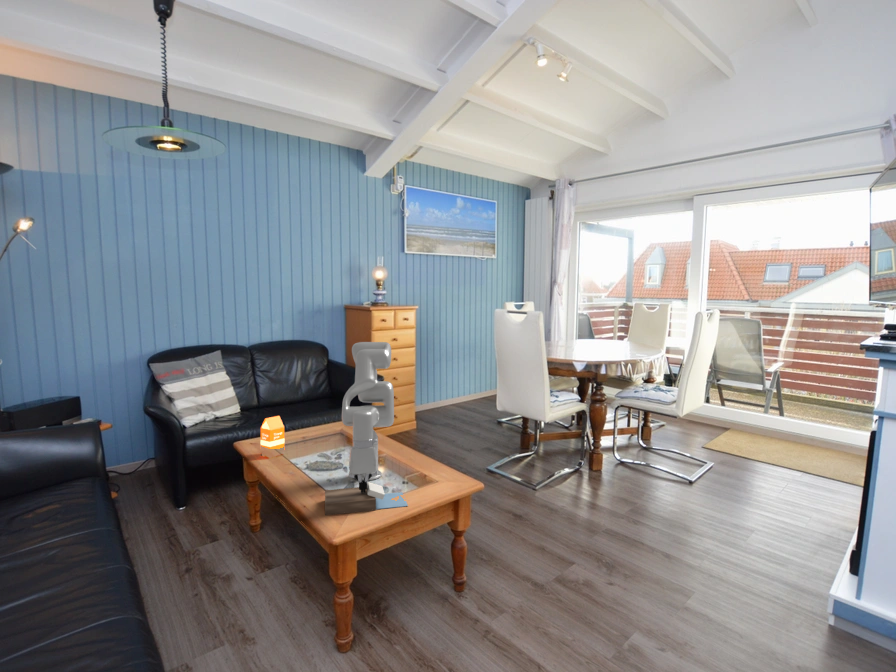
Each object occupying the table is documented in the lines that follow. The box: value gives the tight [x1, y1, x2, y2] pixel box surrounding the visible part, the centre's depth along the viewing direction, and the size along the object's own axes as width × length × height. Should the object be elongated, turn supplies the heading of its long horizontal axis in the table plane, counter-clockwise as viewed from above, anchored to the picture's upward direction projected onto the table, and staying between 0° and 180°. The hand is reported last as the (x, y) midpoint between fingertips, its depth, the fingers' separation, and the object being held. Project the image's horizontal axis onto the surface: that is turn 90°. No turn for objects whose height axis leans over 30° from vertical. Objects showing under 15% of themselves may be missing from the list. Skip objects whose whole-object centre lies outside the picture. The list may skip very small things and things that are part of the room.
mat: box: [375, 491, 409, 511], centre depth 176 cm, size 14×12×1 cm
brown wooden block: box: [324, 486, 376, 516], centre depth 171 cm, size 14×18×4 cm
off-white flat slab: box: [367, 481, 386, 500], centre depth 173 cm, size 9×6×2 cm, turn 14°
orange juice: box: [260, 415, 286, 449], centre depth 235 cm, size 8×9×20 cm
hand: (363, 491), depth 172 cm, fingers closed
